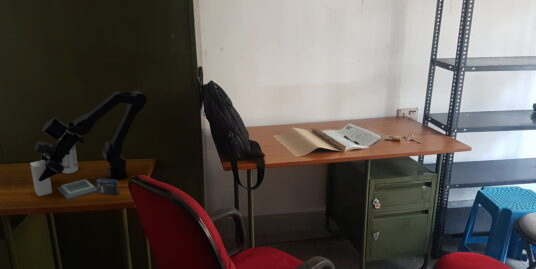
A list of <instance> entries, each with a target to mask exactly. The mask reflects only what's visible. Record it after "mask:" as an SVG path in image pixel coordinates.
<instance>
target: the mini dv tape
mask: <svg viewBox="0 0 536 269" xmlns="http://www.w3.org/2000/svg"><path fill="white" fill-rule="evenodd" d="M96 188H97V190H98V192H97V194H98V195H99V194H100V195H109V196H118V195H119V194H120V191H119V190H120V188H119V180H113V179H111V178H110V179H109V178H97V179H96Z"/></svg>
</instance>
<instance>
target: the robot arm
mask: <svg viewBox="0 0 536 269" xmlns="http://www.w3.org/2000/svg"><path fill="white" fill-rule="evenodd" d="M147 102H148V98H147V96H146V95H145V94H144V93H143V92H141V91H139V90H134V91H130V92H129V91H114V92H112V93H111V94H110V96H108V97H107V98H106V99H105V100H104V101H102V102H100V103H99V104H98V105H97V106H95V107H94V108H93V109H91V111H90V112H88V113H85V114H82V115H81V116H79V117H77V118H75V119H74V120H73V121H71V122H67V123H63V122H61V121H60V120H58V119H57V118H56V117H52V119H50V120H48V121H46V123H45V124H44V126H43V127H42V130H41V132H43V133H44V134H46V135H48V136H49V137H51V138H52V139H54V140H57V139H58V141H55V142H53V143H49V142H44V141H40V140H37V142H36V145H35V147H34V150H35V152H36V153H40V156H41V159H40V161H41V160H45V161H46V163H45V170H44V171H43V173H42V174H41V176H40V178H39V179H38V181H40V182H41V181H43V180H45V179H47V178H49V177H50V178H51V177H53V176H56V175H59V174H62V172H63V170H64V166H63V164H62V162H63V159H64V157H65V156H66V155H69V154H70V150H71V149H72V148H73V147H74V146H75V147H76V145H77V143H81V144H84V143H85V141H84V136H86V135H87V134H89V133H90V131H91V130H92V129H93V128H94V127H95V125H96V123H98V121H99V120H100V119H102V118H103V117H104V116H105V115H106V114H107V113H109V112H110V111H112V110H113V109H114V108H115V107H116V106H118V105H119V104H120V103H123V104H126V111H125V113H124V115H122V118H121V121H120V123H119V125H118V127H117V129H116V131H115V134H114V136H113V137H112V139H111V140H110V141H105V143H104V146H103V147H102V149H101V150H102V156H103V158H104V159H105V160H106V161H107V163H108V167H107V172H108V174H107V175H108V178H110V179H112V180H118V181H119V180H122V179H126V178H129V174H127V164H126V163H127V160H126V159H125V158H124V157H123V156H122V153H123V144H124V143H125V140H126V137H127V136H128V133H129V132H130V129H131V127H132V125H133V123H134V121H135V119H136V117H137V115H138V114H139V113H140V112H141V111H142V110H143V108H144V107H145V106H146V105H147ZM62 136H63V137H62ZM61 137H62V138H61ZM60 138H61V139H60Z"/></svg>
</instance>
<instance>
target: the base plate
mask: <svg viewBox="0 0 536 269" xmlns="http://www.w3.org/2000/svg"><path fill="white" fill-rule="evenodd" d="M57 191H58V192H59V193H60V194H61V195H62V196H63V197H64V198H65V199H66V200H67V201H69V200H72V199H76V198H80V197H84V196H87V195H90V194H94V193H98V190H97V186H95V185H94V184H93V183H91V181H90V180H88V179H86V178H85V179H80V180H75V181H73V182H69V183H65V184H61V185H60V187H57Z"/></svg>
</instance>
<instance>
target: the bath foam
mask: <svg viewBox="0 0 536 269" xmlns="http://www.w3.org/2000/svg"><path fill="white" fill-rule="evenodd" d="M62 137H63V136H62ZM62 137H61V138H62ZM61 138H60V139H61ZM60 139H59V140H60ZM62 164H63V166H64V170H63V172H62V173H63V174H67V175H68V174H73V173H76V172H77V171H78V170H79V166H78V165H79V164H78V158H77V150H76V145H75V146H74V147H73V148H72V149H71V150H70V154H69V155H66V156H65V157H64V159H63V162H62ZM62 173H61V174H62Z"/></svg>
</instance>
